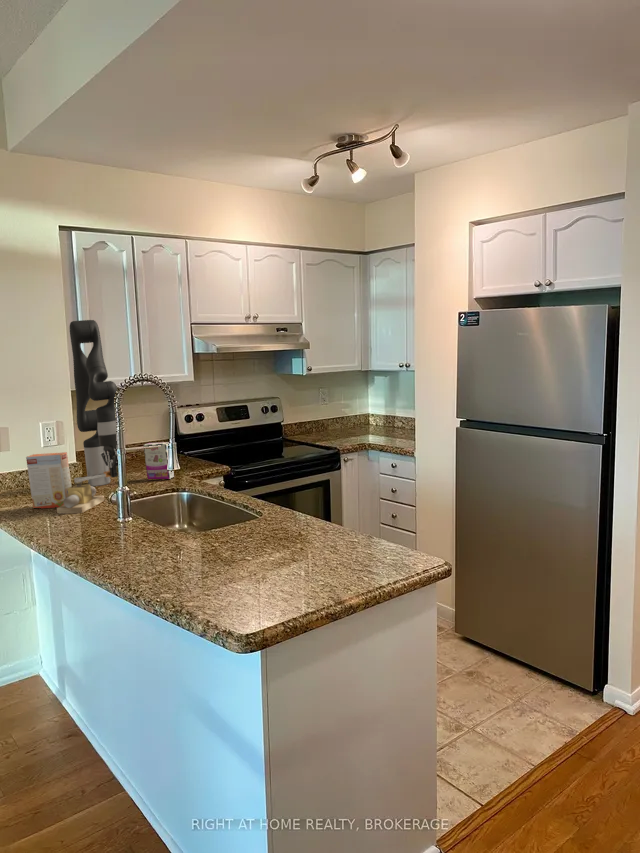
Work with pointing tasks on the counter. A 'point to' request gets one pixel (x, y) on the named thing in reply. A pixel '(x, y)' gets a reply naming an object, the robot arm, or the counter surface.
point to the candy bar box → (157, 461)
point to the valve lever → (91, 477)
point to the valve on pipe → (80, 499)
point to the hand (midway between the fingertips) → (114, 476)
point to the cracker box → (48, 479)
